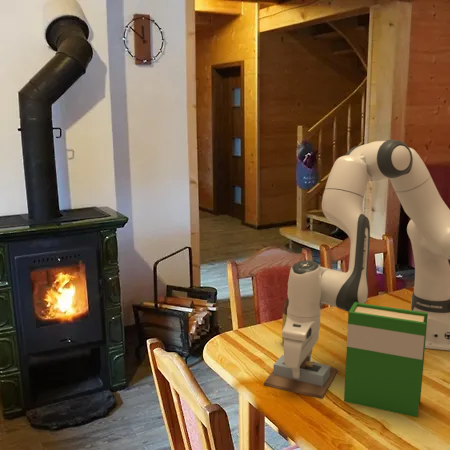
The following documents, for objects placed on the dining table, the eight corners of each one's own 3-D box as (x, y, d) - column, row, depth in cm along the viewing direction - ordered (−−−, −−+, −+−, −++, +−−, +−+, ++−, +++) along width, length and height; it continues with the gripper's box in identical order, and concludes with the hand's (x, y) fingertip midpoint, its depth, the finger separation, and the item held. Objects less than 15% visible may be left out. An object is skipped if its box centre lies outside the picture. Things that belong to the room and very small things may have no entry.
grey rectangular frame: (273, 374, 149) (273, 364, 149) (282, 364, 155) (282, 355, 154) (322, 386, 143) (323, 376, 142) (329, 375, 148) (330, 365, 148)
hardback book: (420, 402, 137) (427, 312, 132) (417, 417, 130) (425, 323, 125) (349, 387, 144) (354, 302, 139) (343, 401, 137) (348, 312, 132)
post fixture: (337, 371, 153) (338, 347, 151) (322, 398, 139) (323, 372, 137) (283, 360, 159) (284, 337, 158) (263, 385, 145) (264, 360, 144)
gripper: (303, 306, 156) (302, 351, 159) (279, 333, 138) (278, 383, 141) (325, 310, 153) (323, 355, 156) (303, 338, 135) (302, 388, 138)
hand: (302, 369), depth 148 cm, fingers open, 8 cm apart
